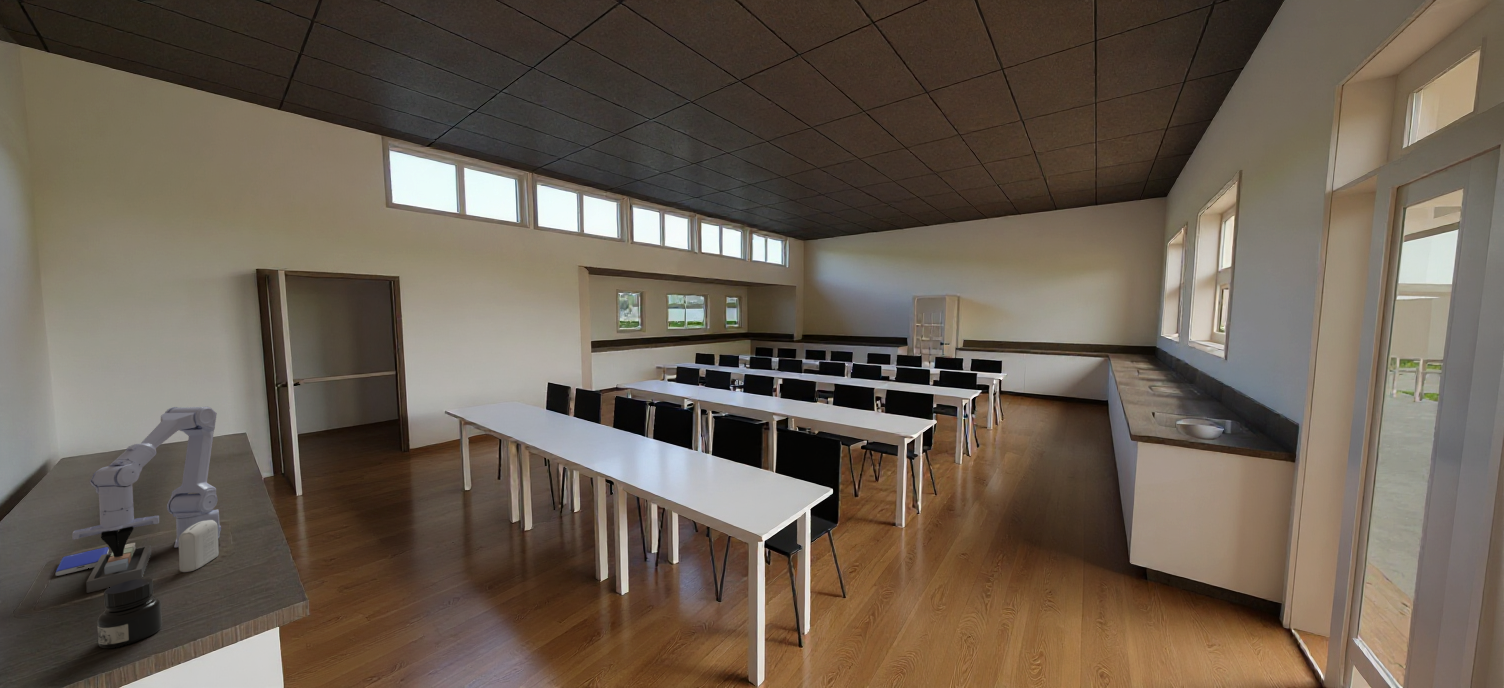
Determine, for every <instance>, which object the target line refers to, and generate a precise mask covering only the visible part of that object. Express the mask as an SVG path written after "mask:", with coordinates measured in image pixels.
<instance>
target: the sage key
mask: <svg viewBox="0 0 1504 688" xmlns="http://www.w3.org/2000/svg"><path fill="white" fill-rule="evenodd" d="M111 553H112V554H111V556H110V557H113V556H114V554H113V552H112V551H111ZM127 553H131V558H132V556H133V548H128V549H124V554H127Z"/></svg>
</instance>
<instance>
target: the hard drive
mask: <svg viewBox="0 0 1504 688" xmlns="http://www.w3.org/2000/svg"><path fill="white" fill-rule="evenodd" d="M109 548H110V547H109V546H108V547H107V546H105V547H101V548H96V549H93V550H88V551H83V552H79V553H75V554H70V555H65V556H63V557H62V558H61V560H60V563H58V566H57V568H56V570H55V576H56V577H57V576H63V575H66V574H71V573H76V572H80V571H85V570H87V569H88V568H89V569H94V567H95V566H96V564H97V562H98V560H99V559H100V557H101V555H104V554H109V551H110V549H109Z"/></svg>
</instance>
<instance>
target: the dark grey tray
mask: <svg viewBox="0 0 1504 688" xmlns="http://www.w3.org/2000/svg"><path fill="white" fill-rule="evenodd" d="M151 545H152V544H148V545H142V546H138V547H135V551H134V553H133V556H132V558H131V561H130V563H129V564H128V568H127V570H123V571H122V572H120V573H116V574H112V573H110V574H106V575H105V571H104V567H105V565H106V563H107V562H108V560H109V558H110V556H111V554H112V552H110V553H109V552H108V554H104V555H101V557H100V559H99V560H98V562H97V564H96V566H95V567H93V568H92V571H91V573H90V575H89V576H88V578H87V580H86V582H85V583H86V594H87V593H92V592H97V591H100V590H104V589H105V590H106V589H108V588H109V587H112V586H114V585H117V584H120V583H123V582H126V581H130V580H134V579H140V578H142V577H143V578H144V576H143V574H144V575H145V573H144V571H145V572H146V570H147V567H148V564H149V562H150V561H149V560H150V559H151V556H152V547H151ZM150 555H151V556H150ZM149 558H150V559H149ZM148 561H149V562H148ZM147 563H148V564H147ZM146 566H147V567H146ZM145 569H146V570H145Z"/></svg>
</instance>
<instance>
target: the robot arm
mask: <svg viewBox="0 0 1504 688" xmlns="http://www.w3.org/2000/svg"><path fill="white" fill-rule="evenodd" d="M217 415H218V414H217V412H216V411H215V410H214V409H213V408H212V407H210V406H187V407H182V406H181V407H178V406H173V407H172V406H171V407H170V408H168V409H166V411H165V412H164V413H163V414H161V415H160V422H159V423H158V424H157V425H156V426H155V428H153V429H152V431H151V432H150V433H149V434H147V436H146V437H145V438H144V439H143V440H142V442H140V443H134V444H132V445H129V446H128V447H126V449H125V451H123V452H122V453H121V454H120V455H119V456H118V457H117V458H116V459H115V460H113V461H112V462H111V463H110V464H108V466H103V467H101V468H99V469H97V470H96V471H95V472H94V473H93V474H92V476H91V479H89V483H90V485H91V486H92V487H93V488H94V489H95V494H97V495H98V505H99V508H98V509H99V523H100V524H98V525H95V526H90V527H86V528H81V529H76V530H73V532H72V540H78V539H81V538H87V537H90V536H98V535H100V539H101V540H102V541H103V542H104V543H105V544H106V545H107V546H108V547H109V548H110V550H111V553H112V552H113V554H114V557H120V556H123V554H124V548H125V545H126V544H127V542H128V539H129V538H130V536H131V534H132V533H133V531H134V529H135V528H138V527H142V526H150V525H157V524H159V523H160V515H158V514H157V515H154V516H153V515H152V516H145V517H137V518H135V512H134V511H135V509H134V507H135V506H134V492H133V491H134V490H133V489H134V488H133V485H134V483H136V482H137V481H138V480H139V478H140V474H141V472H142V471H143V468H144V467H145V466H146V465H147V464H148V463H149V462H150V461H151V460H152V459H153V458H154V457H155V456H156V455H157V448H158V447H159V446H161V445H162V444H163V443H165V442H166V441H167V440H169V438H171V437H172V436H173V435H174V434H176V433H177V432H178V431H180V432H182V433H184V434H186V435H187V436H188V439H187V440H188V441H187V446H186V453H185V462H184V467H183V472H182V473H183V474H182V481H181V485H180V486H178V487H176V488H175V489H173V490H172V491H171V496H170V498H169V500H168V502H166V503H167V504H166V509H167V512H168V513H169V514H171V515H172V517H173V518H175V523H176V539H175V543H174V546H173V547H174V548H175V549H176V548H179V537H180V535H181V534H182V533H183V532H184V531H185V530H186V529H187V528H189V527H190V526H192V525H194V524H196V523H198V522H201V521H207V520H213V521H215V522H216V523H217V525H218V539H220V535H221V534H220V533H221V531H222V525H220V511H219V510H220V509H215V507H216V506H217V505H218V504H217V503H218V495H217V487H215V486H213V485H211V484H210V483H208V477H209V469H210V463H211V462H210V461H211V455H212V446H213V440H214V435H215V434H214V433H215V428H216V422H217V421H216V420H217Z"/></svg>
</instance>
